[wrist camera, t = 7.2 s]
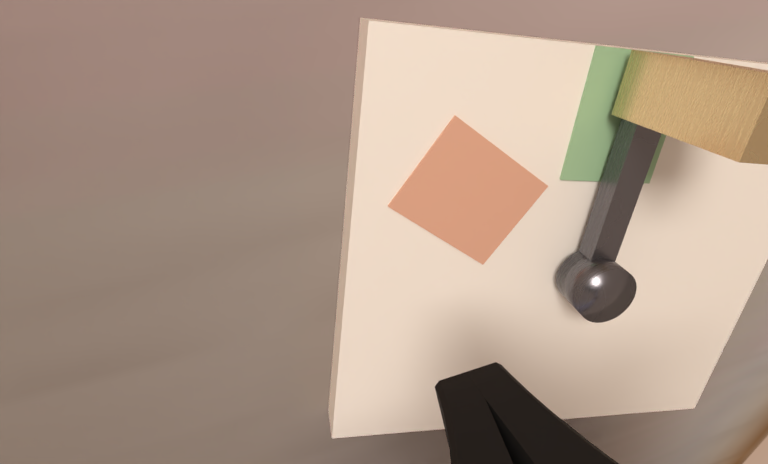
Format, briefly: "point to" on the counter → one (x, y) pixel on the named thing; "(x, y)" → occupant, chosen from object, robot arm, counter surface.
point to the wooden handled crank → (636, 150)
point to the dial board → (522, 233)
